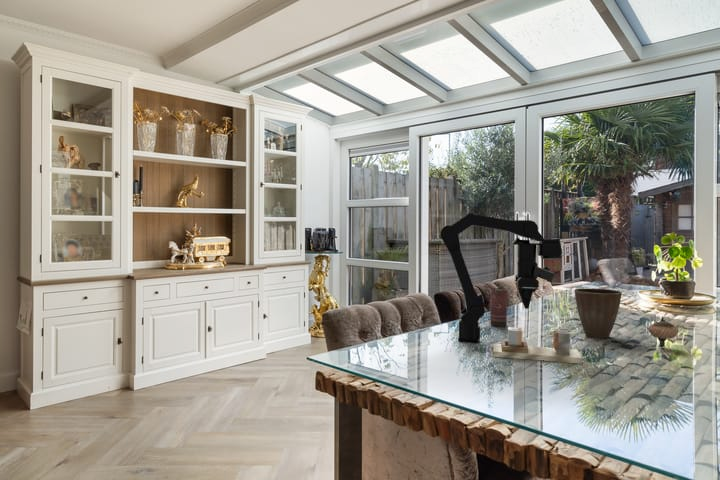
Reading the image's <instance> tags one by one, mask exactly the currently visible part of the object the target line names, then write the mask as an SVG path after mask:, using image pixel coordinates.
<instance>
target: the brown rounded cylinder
mask: <svg viewBox="0 0 720 480" xmlns="http://www.w3.org/2000/svg"><path fill="white" fill-rule="evenodd" d="M508 297H509V290H508V289H506V288H491V290H490V306H489V307H490V309H489V311H490V312H489V313H490V314H489V319H490V320H489V321H490V325H491V326H493V327H506V326H507V324H508V323H507V321H508Z"/></svg>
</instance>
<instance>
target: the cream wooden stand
mask: <svg viewBox="0 0 720 480" xmlns="http://www.w3.org/2000/svg"><path fill="white" fill-rule="evenodd" d="M500 341H501V343H493V348H492V349H493V357H494V358H504V359H505V358H507V359H519V360H520V359H521V360H530V361H531V360H533V361H543V360H544V361H546V362H557V363H571V364H583V363H584V361H583V360H584V358H583V356H582V355H581V354H580V352H579V351H578V350H577V349H572V348H571V347H570V346H571V345H570V344H571V343H570V342H571V333H570V332H569V331H568V330H562V329H560V330H559V329H554V330H553V347H545V346H532V345H530V346H529V345H528V342H527V341H523V340H522V347H514V346H508V339H501V340H500Z"/></svg>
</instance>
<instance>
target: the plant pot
mask: <svg viewBox="0 0 720 480" xmlns="http://www.w3.org/2000/svg"><path fill="white" fill-rule="evenodd" d="M573 290H574V297H575V304H576V309H577V312H578V318H579V320H580V323H581V327H582V330H583V333H584V334H585V336H586V337H588V338H593V339H607V338H609V337H610V336H611V334H612V331H613V328H614V326H615V323H616V320H617V317H618V313H619V309H620V304H621V300H622V299H621V298H622V294H623V293H622V291H621V290H613V289H607V288H606V289H605V288H576V289H573Z"/></svg>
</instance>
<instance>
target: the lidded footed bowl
mask: <svg viewBox="0 0 720 480" xmlns="http://www.w3.org/2000/svg"><path fill="white" fill-rule="evenodd" d="M647 331H648V332H649V333H650V335H651V336H653V338H657V340H658V342H659V343H658V346H659V348H662V349H663V348H666V345H665V344H666V340H669V339H674V338H676V337H677V335H678V334H679V328H678V326H676V325H674V324H672V323H671V322H669V321H666V320H665V319H664V316H661V319H660V321H657V322H654V323H652V324H649V326H648V327H647Z"/></svg>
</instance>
